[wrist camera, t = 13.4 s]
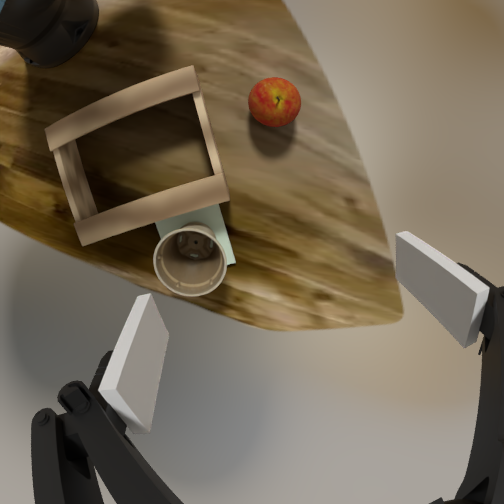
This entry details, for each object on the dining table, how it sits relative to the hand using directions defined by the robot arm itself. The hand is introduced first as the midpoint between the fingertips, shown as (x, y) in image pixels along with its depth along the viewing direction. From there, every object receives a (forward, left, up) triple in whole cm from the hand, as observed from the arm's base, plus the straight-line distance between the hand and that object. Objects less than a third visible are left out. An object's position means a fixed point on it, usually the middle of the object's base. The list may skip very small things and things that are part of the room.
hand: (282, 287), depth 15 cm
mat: (+6, -9, -31) cm, 33 cm away
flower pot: (+6, -9, -30) cm, 32 cm away
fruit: (-11, +7, -31) cm, 34 cm away
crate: (-9, -13, -31) cm, 35 cm away
